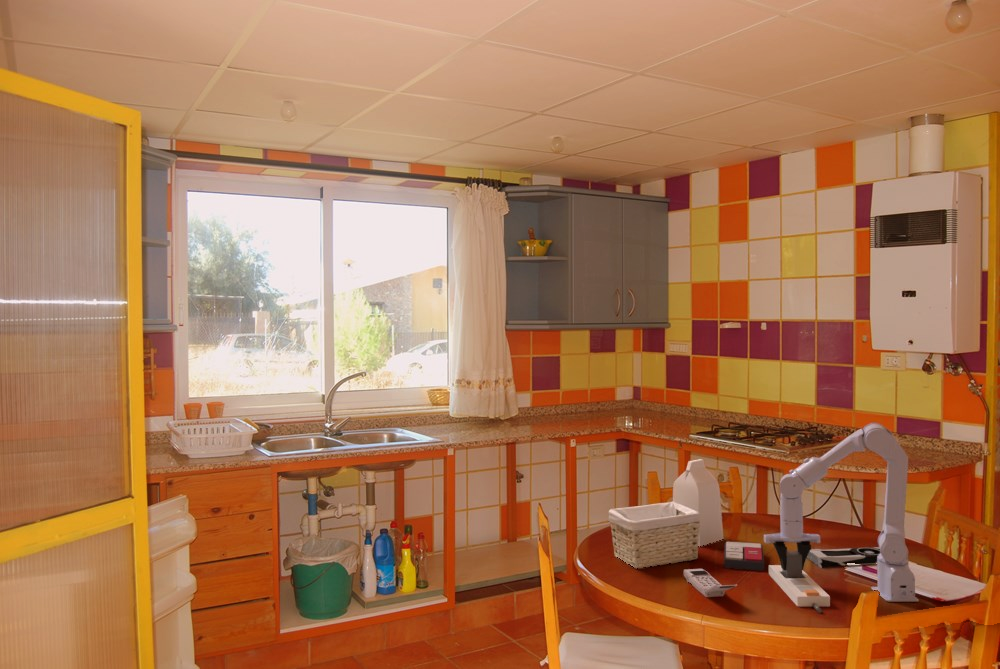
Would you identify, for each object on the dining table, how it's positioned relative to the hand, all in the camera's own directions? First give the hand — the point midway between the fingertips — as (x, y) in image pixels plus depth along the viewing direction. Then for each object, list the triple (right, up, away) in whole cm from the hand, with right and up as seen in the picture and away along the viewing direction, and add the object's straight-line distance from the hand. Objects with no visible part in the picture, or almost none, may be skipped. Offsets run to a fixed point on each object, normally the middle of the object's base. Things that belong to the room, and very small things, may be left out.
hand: (792, 568), depth 205 cm
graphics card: (+24, -4, +18) cm, 30 cm away
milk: (-15, -4, +43) cm, 46 cm away
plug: (0, -3, 0) cm, 3 cm away
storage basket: (-32, -5, +25) cm, 41 cm away
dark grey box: (-7, -5, +20) cm, 21 cm away
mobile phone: (-24, -5, -3) cm, 25 cm away
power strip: (0, -4, -6) cm, 7 cm away
